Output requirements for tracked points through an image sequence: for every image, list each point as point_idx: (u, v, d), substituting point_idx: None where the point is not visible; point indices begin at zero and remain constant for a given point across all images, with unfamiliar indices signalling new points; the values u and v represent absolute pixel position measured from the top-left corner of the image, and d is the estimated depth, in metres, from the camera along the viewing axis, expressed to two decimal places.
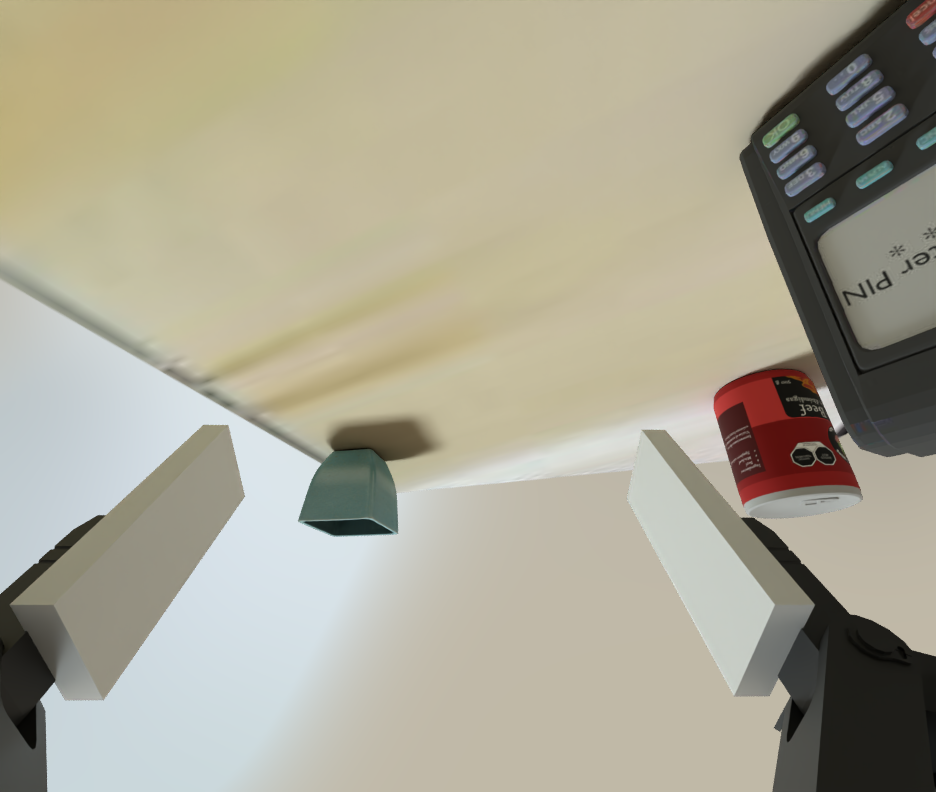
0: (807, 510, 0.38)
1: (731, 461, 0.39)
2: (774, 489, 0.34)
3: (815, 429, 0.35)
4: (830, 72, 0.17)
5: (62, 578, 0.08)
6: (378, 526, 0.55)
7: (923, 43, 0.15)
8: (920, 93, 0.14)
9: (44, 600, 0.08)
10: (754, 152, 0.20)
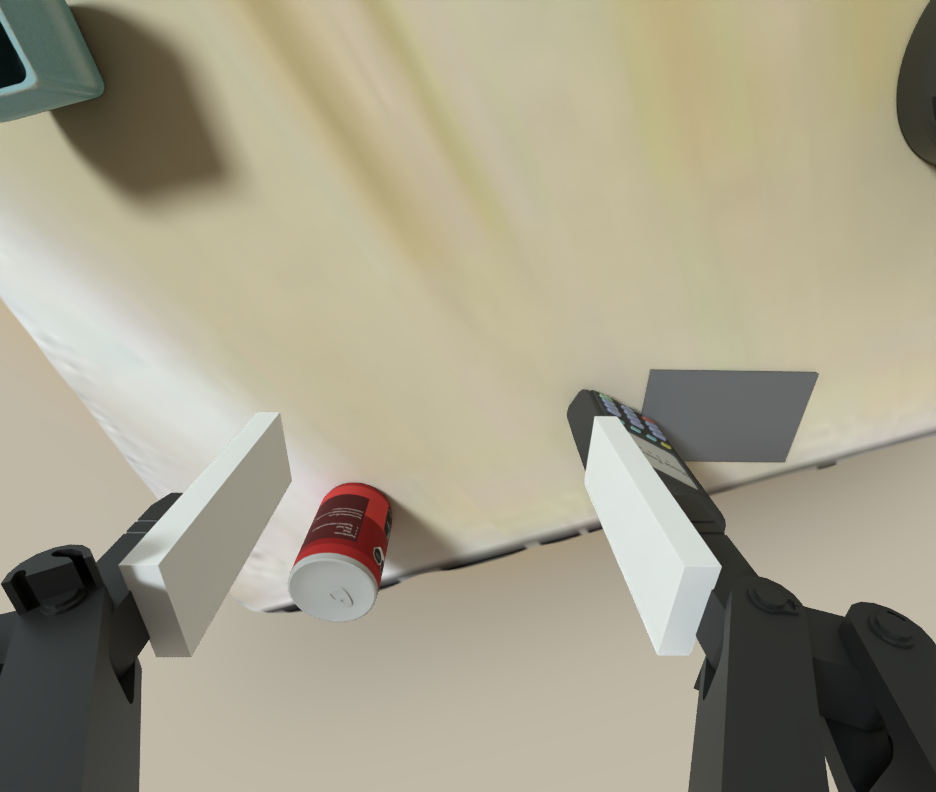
0: (313, 605, 0.40)
1: (325, 524, 0.41)
2: (354, 556, 0.38)
3: (385, 551, 0.44)
4: None
5: (160, 543, 0.09)
6: None
7: (645, 423, 0.41)
8: (645, 429, 0.39)
9: (148, 562, 0.09)
10: (593, 393, 0.41)
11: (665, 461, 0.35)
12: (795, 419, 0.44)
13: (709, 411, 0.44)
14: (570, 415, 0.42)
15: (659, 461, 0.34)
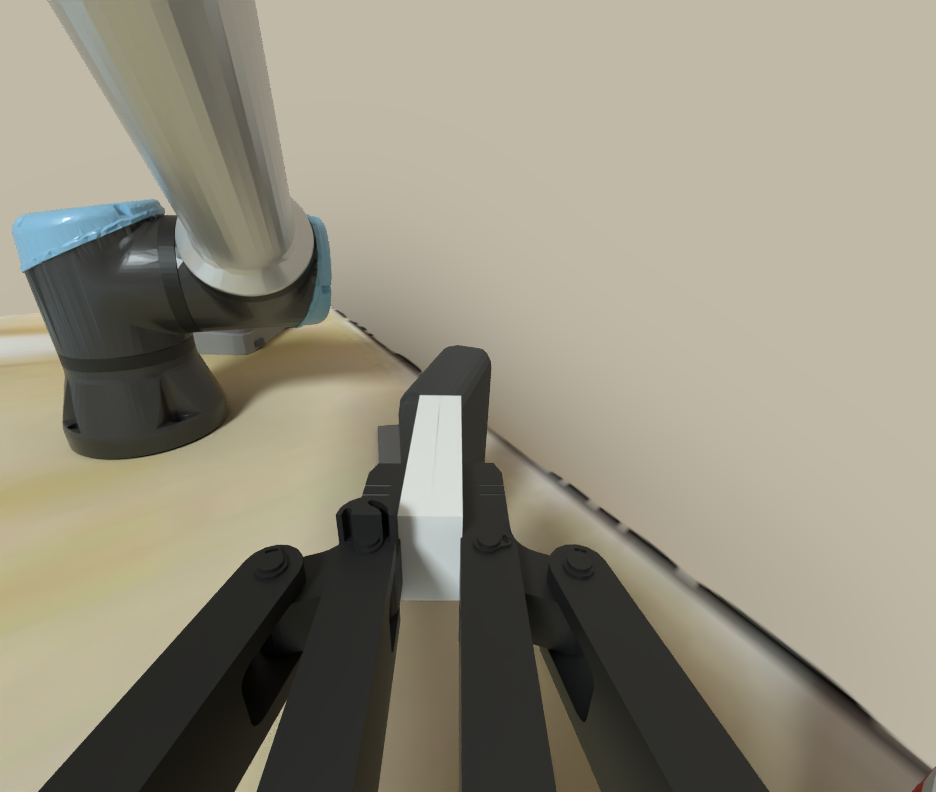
0: None
1: None
2: None
3: None
4: None
5: (419, 500, 0.11)
6: None
7: None
8: None
9: (419, 513, 0.10)
10: None
11: None
12: None
13: None
14: None
15: None
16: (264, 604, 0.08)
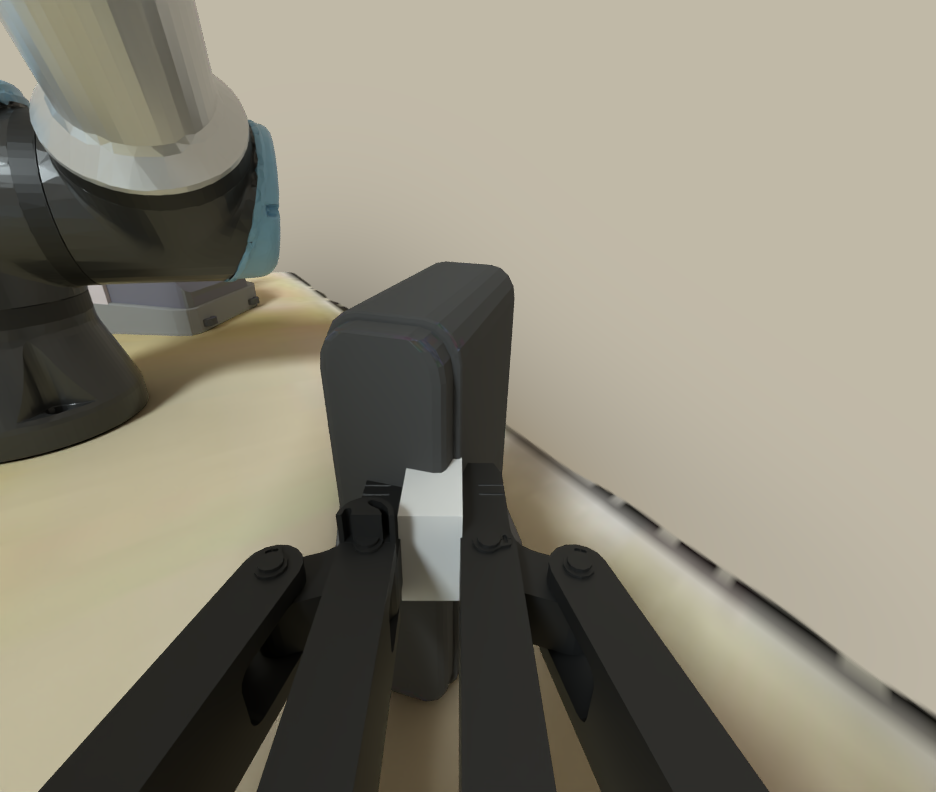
0: None
1: None
2: None
3: None
4: None
5: (419, 499, 0.11)
6: None
7: None
8: None
9: (419, 513, 0.10)
10: None
11: None
12: None
13: None
14: (430, 677, 0.16)
15: None
16: (264, 604, 0.08)
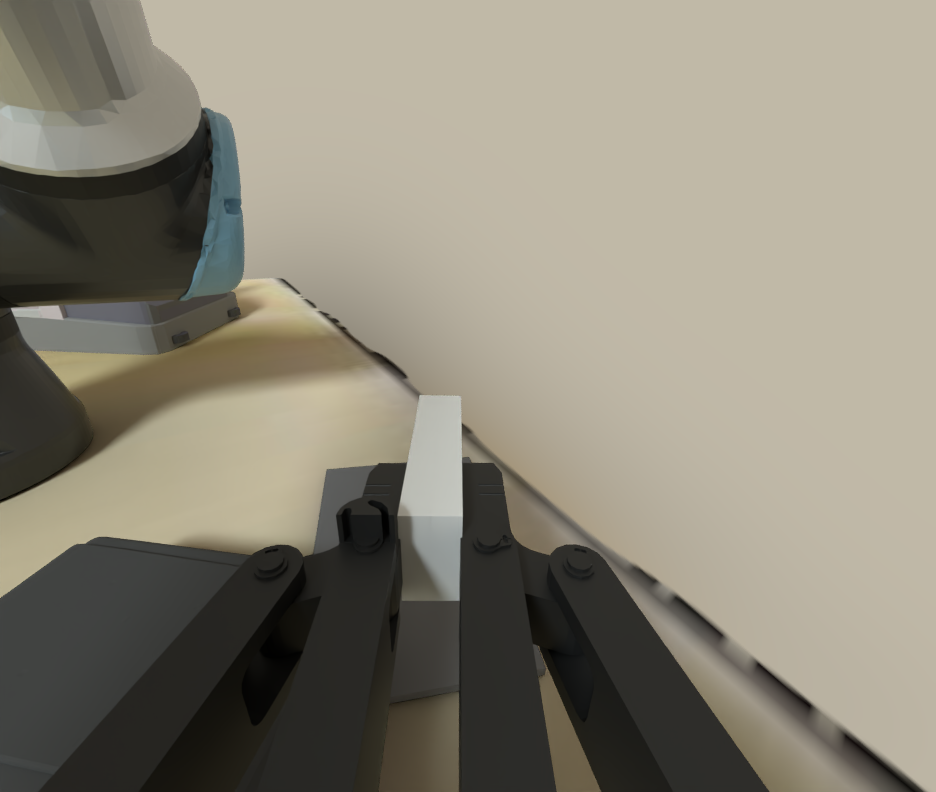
0: None
1: None
2: None
3: None
4: None
5: (419, 500, 0.11)
6: None
7: None
8: None
9: (419, 513, 0.10)
10: None
11: None
12: None
13: None
14: None
15: None
16: (264, 604, 0.08)
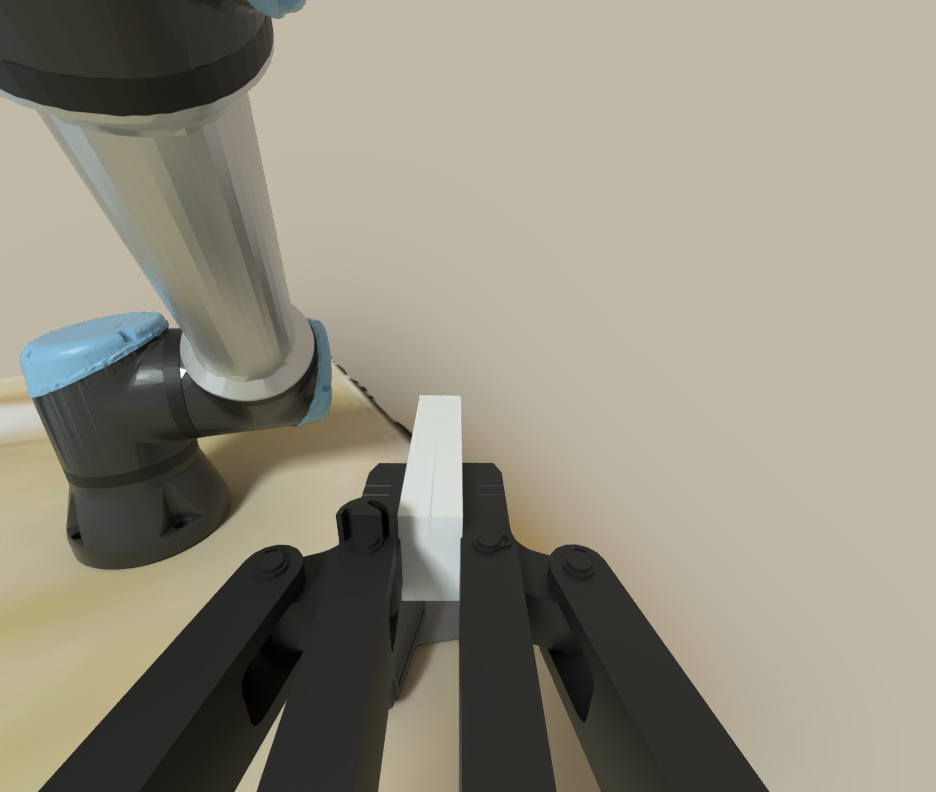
0: None
1: None
2: None
3: None
4: None
5: (419, 499, 0.11)
6: None
7: None
8: None
9: (419, 513, 0.10)
10: None
11: None
12: None
13: None
14: None
15: None
16: (264, 604, 0.08)
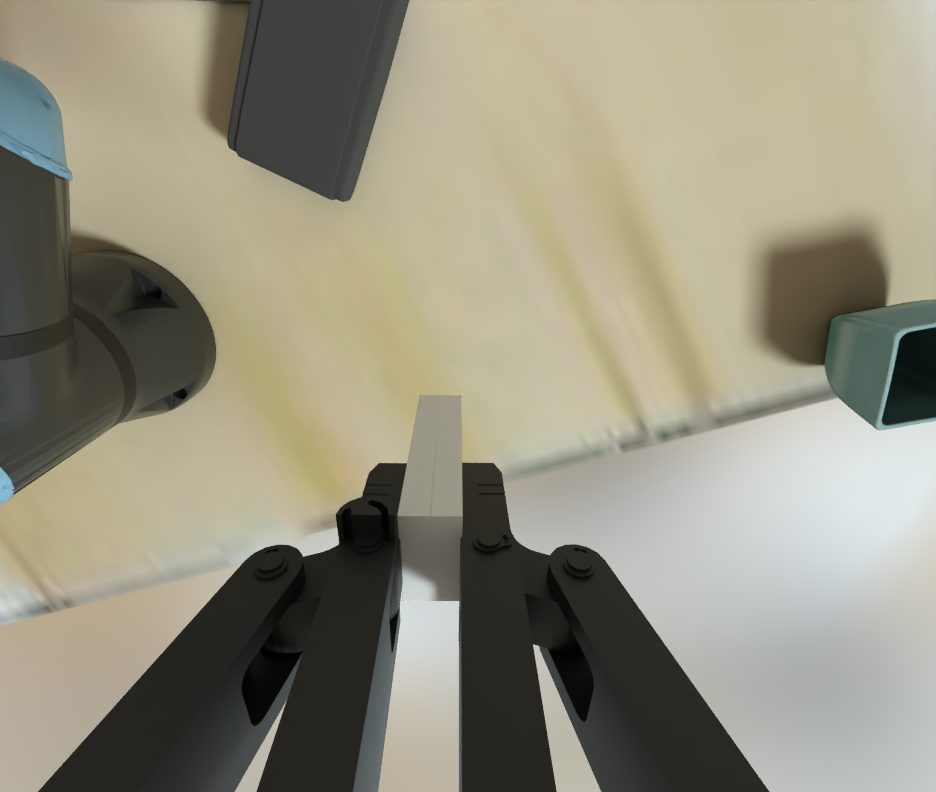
0: None
1: None
2: None
3: None
4: None
5: (419, 500, 0.11)
6: None
7: None
8: None
9: (419, 514, 0.10)
10: None
11: None
12: None
13: None
14: (398, 5, 0.29)
15: None
16: (264, 604, 0.08)
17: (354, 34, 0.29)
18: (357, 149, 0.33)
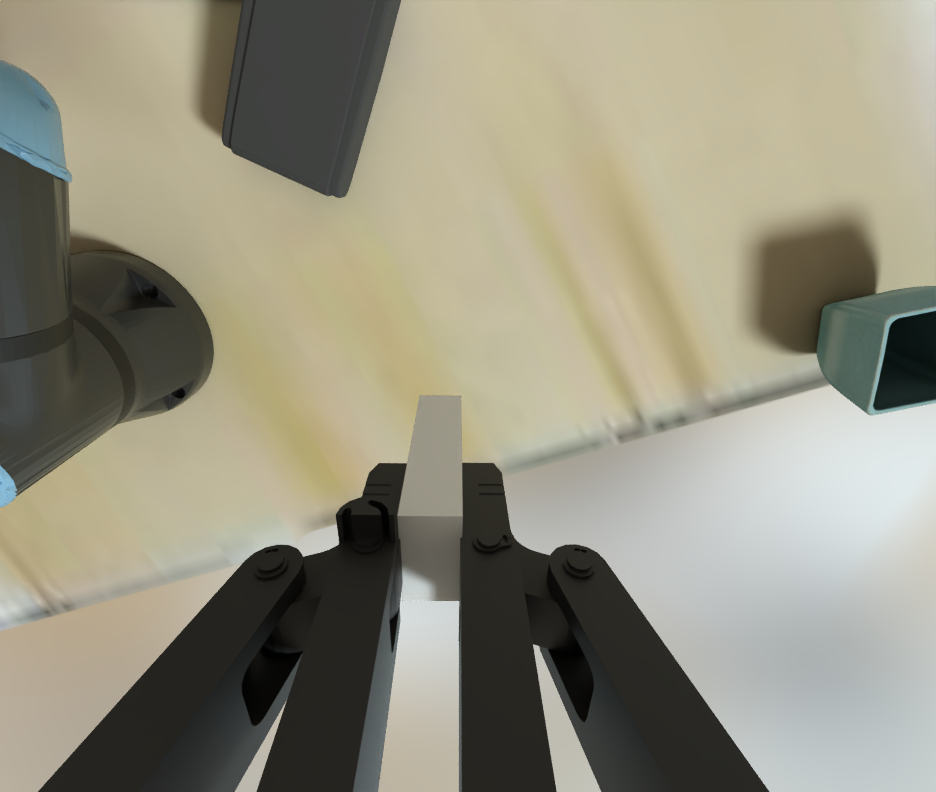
0: None
1: None
2: None
3: None
4: None
5: (419, 499, 0.11)
6: None
7: None
8: None
9: (419, 513, 0.10)
10: None
11: None
12: None
13: None
14: (392, 0, 0.29)
15: None
16: (264, 604, 0.08)
17: (348, 29, 0.29)
18: (353, 145, 0.33)
